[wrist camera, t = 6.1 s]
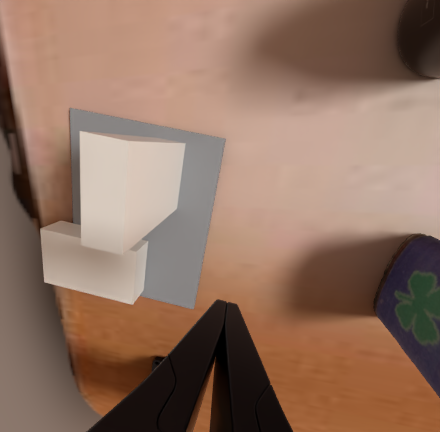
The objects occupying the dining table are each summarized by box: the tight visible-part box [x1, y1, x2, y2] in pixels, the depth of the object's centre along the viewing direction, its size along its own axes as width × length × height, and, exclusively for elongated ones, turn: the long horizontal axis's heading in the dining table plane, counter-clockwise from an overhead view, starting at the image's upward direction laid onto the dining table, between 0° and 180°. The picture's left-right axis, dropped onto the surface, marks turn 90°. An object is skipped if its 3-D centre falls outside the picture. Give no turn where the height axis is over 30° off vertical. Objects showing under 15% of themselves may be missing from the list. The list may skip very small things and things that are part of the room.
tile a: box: [40, 221, 148, 305], centre depth 23 cm, size 6×2×10 cm
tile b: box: [80, 131, 186, 255], centre depth 16 cm, size 6×2×10 cm, turn 169°
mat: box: [70, 108, 226, 309], centre depth 22 cm, size 18×14×1 cm
